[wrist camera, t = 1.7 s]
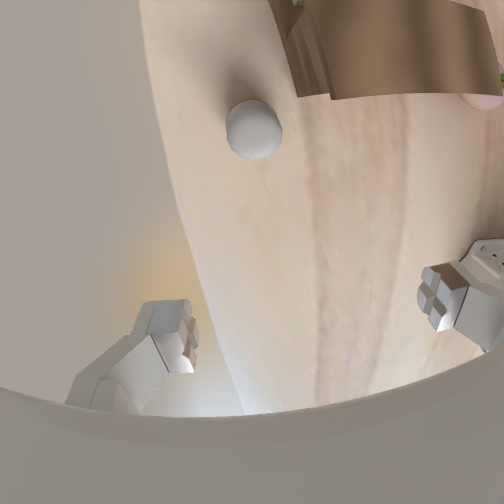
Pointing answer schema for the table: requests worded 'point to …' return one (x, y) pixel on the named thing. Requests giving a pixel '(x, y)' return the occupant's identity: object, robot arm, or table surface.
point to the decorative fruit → (485, 97)
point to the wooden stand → (387, 47)
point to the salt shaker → (253, 130)
